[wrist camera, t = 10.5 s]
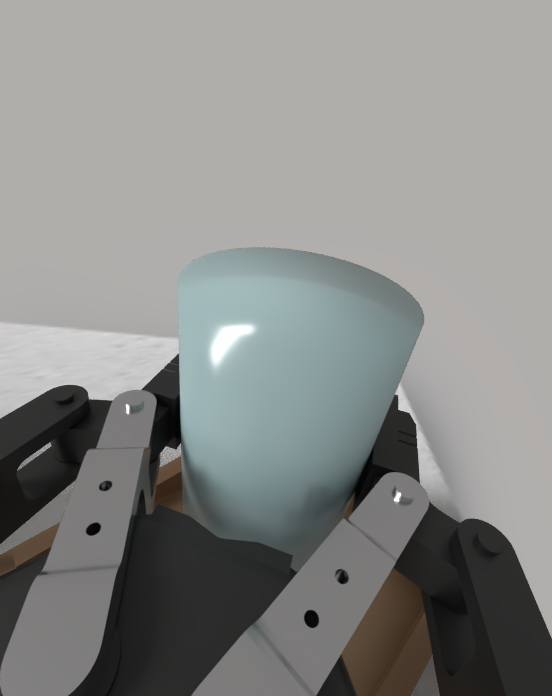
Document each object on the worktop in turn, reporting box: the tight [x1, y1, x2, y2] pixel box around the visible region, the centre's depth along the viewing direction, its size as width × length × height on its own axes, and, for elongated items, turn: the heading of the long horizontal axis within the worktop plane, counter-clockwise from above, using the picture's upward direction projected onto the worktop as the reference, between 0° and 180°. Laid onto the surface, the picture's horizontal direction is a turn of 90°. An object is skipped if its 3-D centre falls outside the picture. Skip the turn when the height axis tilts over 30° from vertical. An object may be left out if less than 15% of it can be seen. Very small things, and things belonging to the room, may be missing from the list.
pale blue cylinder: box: [178, 248, 424, 572], centre depth 12 cm, size 6×6×12 cm
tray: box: [0, 456, 432, 696], centre depth 18 cm, size 16×18×3 cm
